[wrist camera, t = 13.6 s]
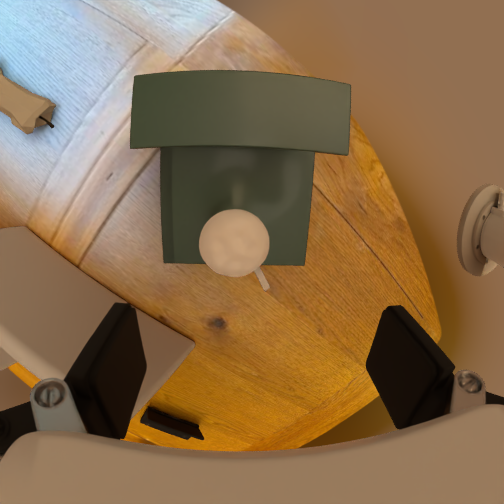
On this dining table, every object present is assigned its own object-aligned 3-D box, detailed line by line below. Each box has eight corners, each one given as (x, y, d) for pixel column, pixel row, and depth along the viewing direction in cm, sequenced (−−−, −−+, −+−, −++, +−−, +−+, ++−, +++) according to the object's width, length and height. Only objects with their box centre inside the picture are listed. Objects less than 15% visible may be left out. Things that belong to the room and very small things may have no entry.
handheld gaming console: (138, 430, 46) (140, 449, 37) (143, 400, 48) (144, 415, 39) (191, 438, 49) (202, 457, 40) (196, 410, 52) (208, 425, 43)
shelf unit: (178, 109, 29) (133, 75, 14) (298, 113, 30) (351, 84, 15) (177, 238, 34) (140, 304, 19) (289, 241, 35) (328, 306, 20)
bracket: (57, 263, 45) (-73, 299, 16) (74, 219, 42) (-77, 238, 13) (168, 378, 42) (53, 499, 13) (198, 341, 40) (59, 486, 11)
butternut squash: (-2, 47, 19) (83, 91, 27) (-16, 91, 23) (63, 144, 31) (-40, 54, 12) (39, 102, 19) (-51, 103, 16) (22, 166, 24)
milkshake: (237, 255, 27) (239, 311, 18) (199, 214, 25) (179, 251, 16) (274, 225, 26) (296, 267, 17) (236, 181, 25) (238, 200, 15)
